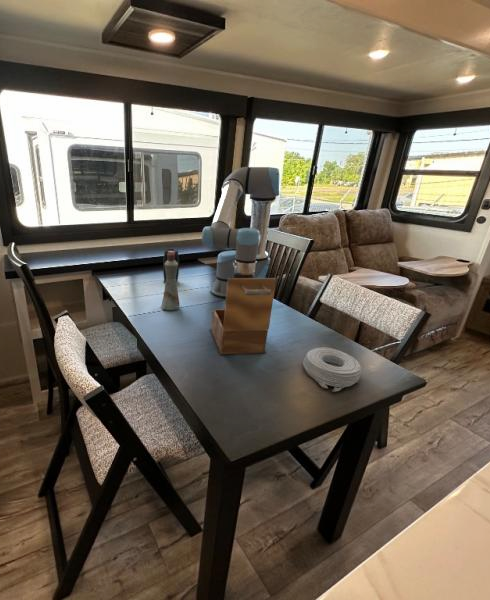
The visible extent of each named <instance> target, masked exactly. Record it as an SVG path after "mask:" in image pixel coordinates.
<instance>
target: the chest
mask: <svg viewBox="0 0 490 600" xmlns="http://www.w3.org/2000/svg"><path fill="white" fill-rule="evenodd" d="M224 314H225V308H217V309H215V308H213V309H212V315H211V329H210V332H211V333H212V336H213V338H214V341H215V344H216V346H217V348H218V351H219V353H220V355H243V354H245V355H246V354H265V351H266V346H267V340H268V333H269V329H265V330H225V331H224V330H223V325H224Z"/></svg>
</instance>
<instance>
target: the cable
mask: <svg viewBox="0 0 490 600" xmlns="http://www.w3.org/2000/svg"><path fill="white" fill-rule="evenodd" d="M302 365H303V368H304V369H305V372H306V373H307V374H308V375H309V376H310V377H311V378H312V379H313V380H314V381H315V382H317V383H318V385H319V386H320V387H321V388H322V389H326V390H327V389H329V388H328V386H330V387H333V389H331V392H332V393H337V392H339V391H341V390H342V389H344V388H348V387H351V386H353V385H355V384H357V383H358V382H359V380H360V377H361V375H362V366H361V364H360V363H359V361H358V360H357V359H356V358H354V357H353V356H351V355H350V354H348V353H347V352H344V351H341V350H339V349H334V348H332V347H316V348H312V349H311V350H309V351H308V352H307V353H306V355H305V356H304V358H303V360H302Z"/></svg>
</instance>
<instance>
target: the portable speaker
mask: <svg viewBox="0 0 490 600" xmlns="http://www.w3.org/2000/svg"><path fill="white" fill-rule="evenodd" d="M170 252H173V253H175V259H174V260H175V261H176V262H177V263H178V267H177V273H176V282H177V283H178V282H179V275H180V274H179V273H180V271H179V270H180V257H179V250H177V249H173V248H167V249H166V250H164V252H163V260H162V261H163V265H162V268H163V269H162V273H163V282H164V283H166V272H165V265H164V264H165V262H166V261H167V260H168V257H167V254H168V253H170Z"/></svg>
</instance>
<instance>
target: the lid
mask: <svg viewBox="0 0 490 600" xmlns="http://www.w3.org/2000/svg"><path fill="white" fill-rule="evenodd" d="M276 283H277V278H276V277H265V278H228V282H227V293H226V298H225V305H224V309H225V314H224V325H223V330H224V331H225V330H265V329H268V330H269V329H270V323H271V316H272V310H273V304H274V297H275V291H276Z"/></svg>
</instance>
